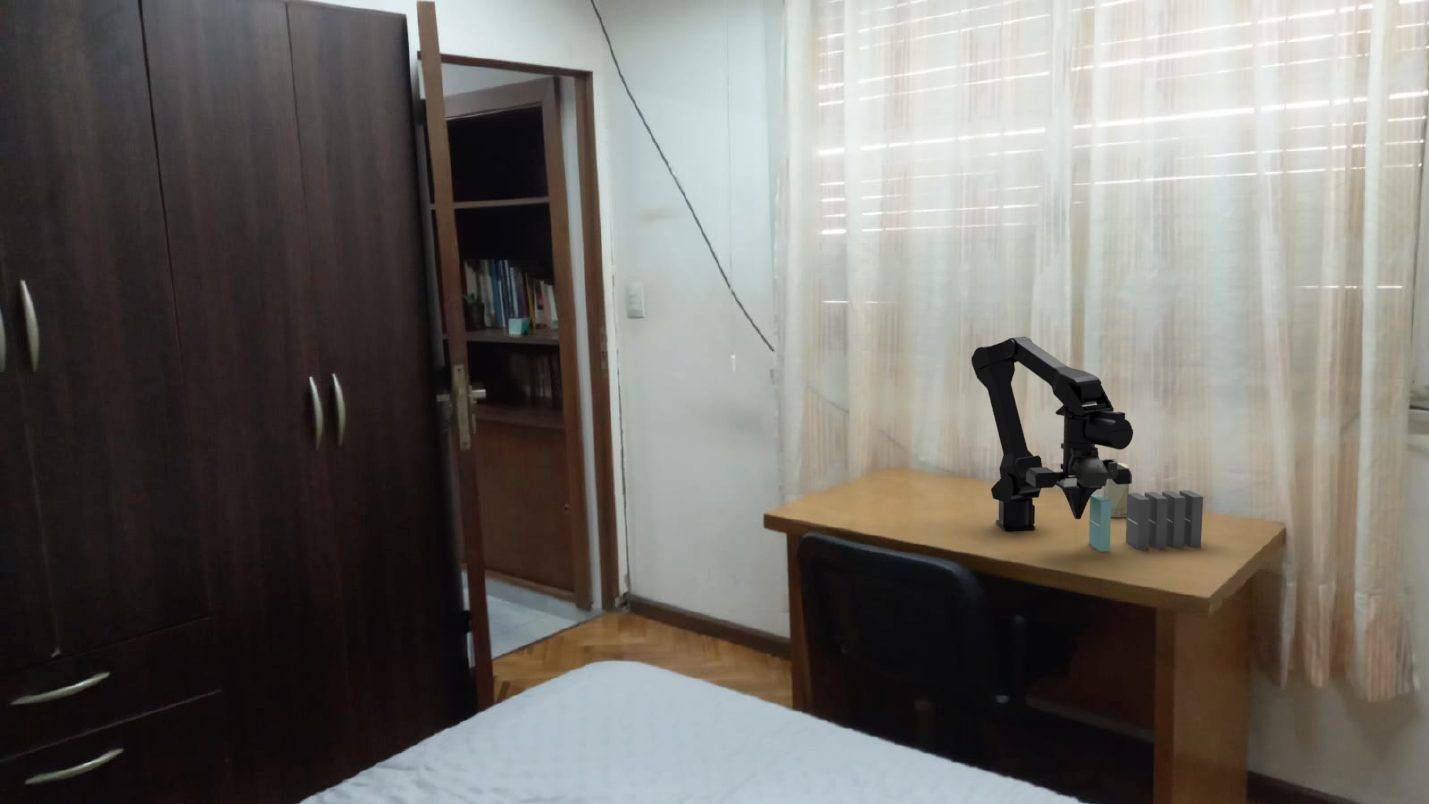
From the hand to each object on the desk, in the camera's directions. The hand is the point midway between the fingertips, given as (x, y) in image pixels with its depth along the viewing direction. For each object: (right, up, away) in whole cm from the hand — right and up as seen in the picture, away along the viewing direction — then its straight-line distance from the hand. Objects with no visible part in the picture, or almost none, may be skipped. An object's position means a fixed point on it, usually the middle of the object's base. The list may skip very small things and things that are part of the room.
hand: (1077, 518), depth 186 cm
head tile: (+5, -6, +1) cm, 8 cm away
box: (+17, -2, +22) cm, 28 cm away
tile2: (+12, -5, +1) cm, 13 cm away
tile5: (+23, -5, +2) cm, 23 cm away
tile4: (+19, -5, +2) cm, 20 cm away
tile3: (+16, -5, +2) cm, 17 cm away
